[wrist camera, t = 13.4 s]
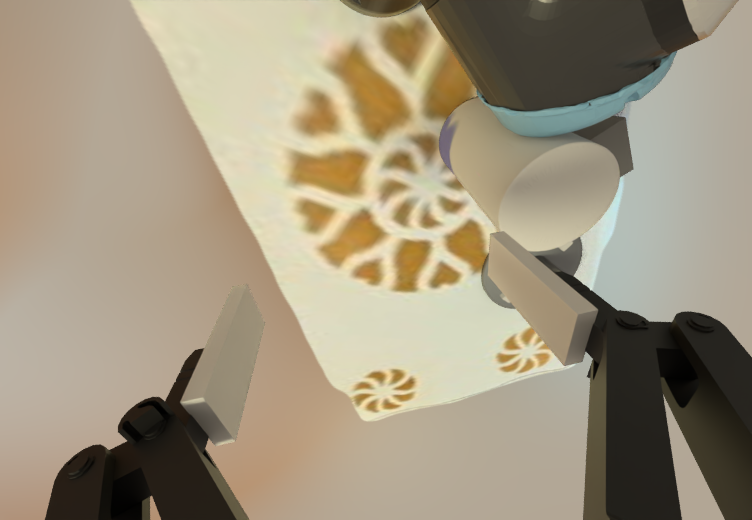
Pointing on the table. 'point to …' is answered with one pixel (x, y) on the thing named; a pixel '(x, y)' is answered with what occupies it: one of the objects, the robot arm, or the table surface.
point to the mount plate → (560, 257)
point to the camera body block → (611, 140)
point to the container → (529, 177)
